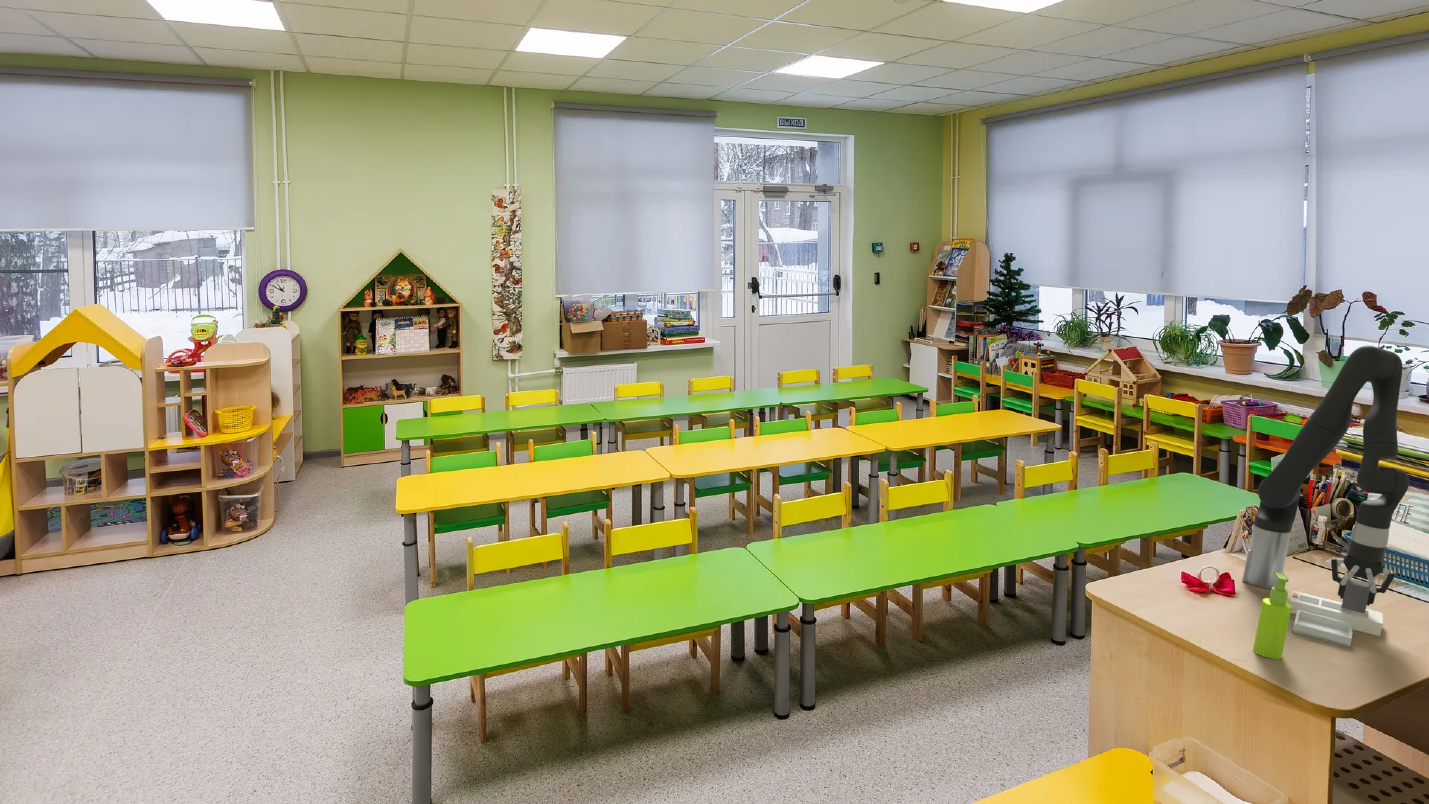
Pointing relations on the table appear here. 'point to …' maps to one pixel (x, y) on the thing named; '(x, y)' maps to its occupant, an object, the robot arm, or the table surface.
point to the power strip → (1338, 612)
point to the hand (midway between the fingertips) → (1354, 601)
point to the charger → (1356, 595)
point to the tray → (1323, 628)
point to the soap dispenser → (1273, 621)
